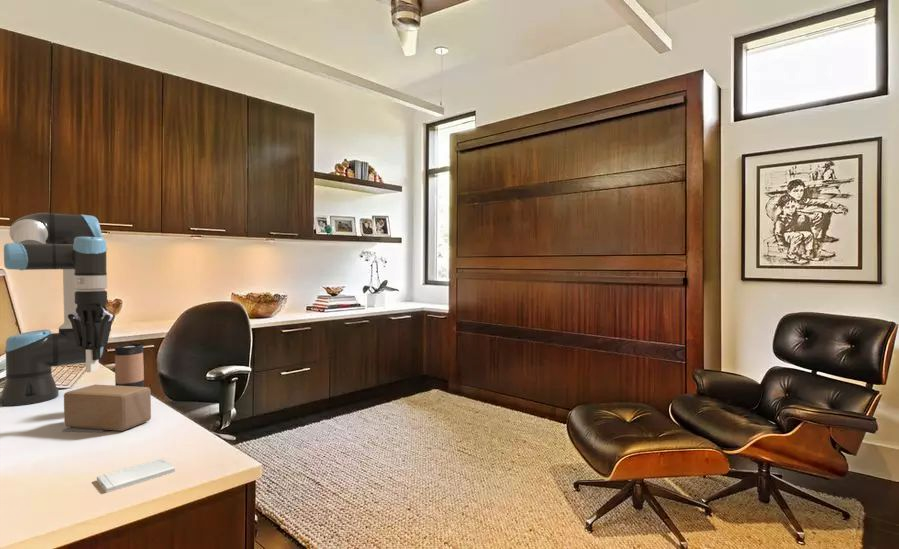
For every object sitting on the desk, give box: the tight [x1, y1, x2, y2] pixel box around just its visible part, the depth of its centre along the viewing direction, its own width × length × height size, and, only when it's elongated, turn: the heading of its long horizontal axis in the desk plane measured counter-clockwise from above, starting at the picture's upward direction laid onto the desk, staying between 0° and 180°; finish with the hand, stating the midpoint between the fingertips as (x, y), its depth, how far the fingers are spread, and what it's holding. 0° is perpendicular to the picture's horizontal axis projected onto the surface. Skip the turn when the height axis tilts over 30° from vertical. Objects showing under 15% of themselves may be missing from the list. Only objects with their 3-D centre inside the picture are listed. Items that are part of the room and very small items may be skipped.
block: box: [63, 384, 152, 432], centre depth 134 cm, size 10×10×20 cm
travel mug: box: [114, 343, 145, 387], centre depth 151 cm, size 8×8×20 cm
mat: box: [61, 427, 106, 433], centre depth 136 cm, size 12×15×1 cm
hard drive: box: [96, 458, 176, 494], centre depth 101 cm, size 2×8×12 cm
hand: (92, 371), depth 136 cm, fingers closed
